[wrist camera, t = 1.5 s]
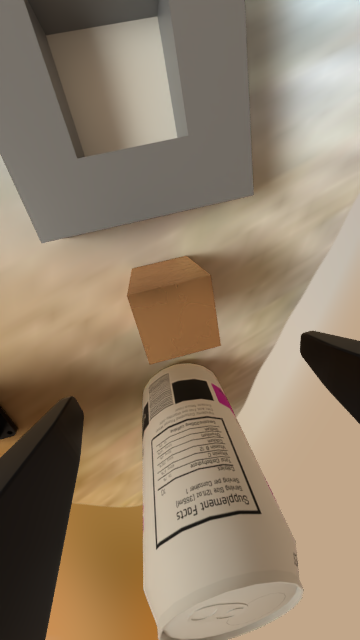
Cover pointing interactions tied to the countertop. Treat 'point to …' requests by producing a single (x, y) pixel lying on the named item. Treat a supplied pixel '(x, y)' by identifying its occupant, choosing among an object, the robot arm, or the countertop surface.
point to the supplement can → (208, 516)
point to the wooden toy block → (173, 308)
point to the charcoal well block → (123, 109)
